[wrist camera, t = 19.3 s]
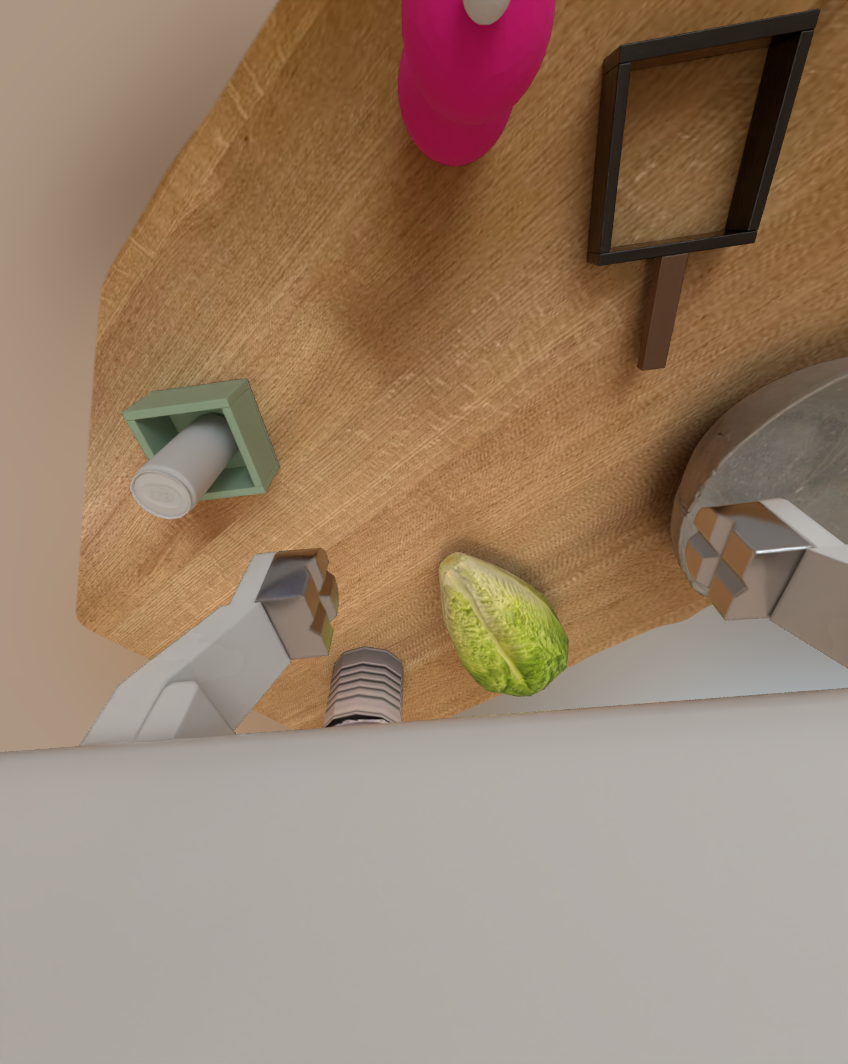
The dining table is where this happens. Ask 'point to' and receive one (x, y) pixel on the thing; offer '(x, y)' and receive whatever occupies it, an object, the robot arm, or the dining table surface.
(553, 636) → the lettuce
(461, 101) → the pepper mill
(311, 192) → the dining table surface
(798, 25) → the handled rectangular frame
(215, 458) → the beverage can
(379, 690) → the can
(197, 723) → the robot arm
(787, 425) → the bowl
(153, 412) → the bin
